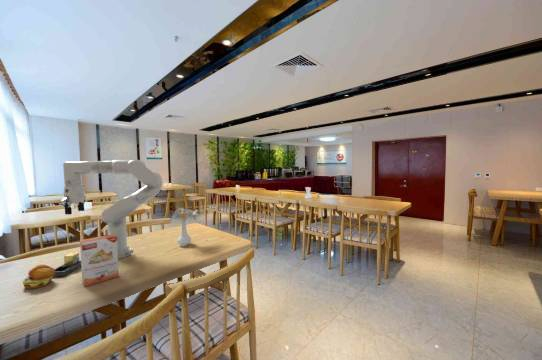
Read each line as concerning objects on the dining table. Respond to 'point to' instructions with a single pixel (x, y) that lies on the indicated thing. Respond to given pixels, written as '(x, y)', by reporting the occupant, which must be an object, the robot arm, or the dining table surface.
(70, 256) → the gold block
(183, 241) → the flower vase
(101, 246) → the cracker box
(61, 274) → the tray
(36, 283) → the cheeseburger
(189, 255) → the dining table surface
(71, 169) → the robot arm
